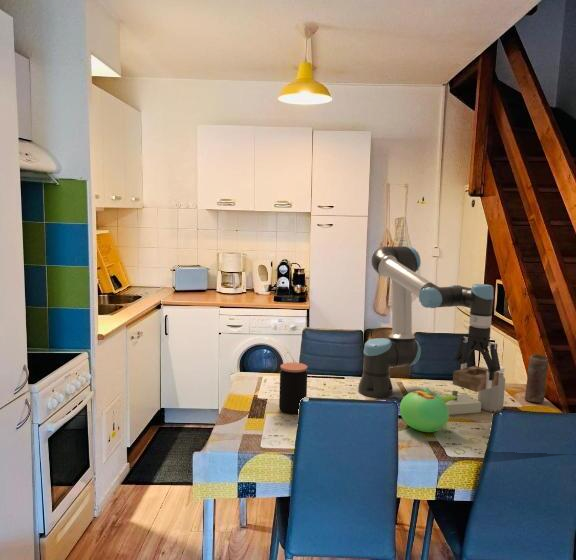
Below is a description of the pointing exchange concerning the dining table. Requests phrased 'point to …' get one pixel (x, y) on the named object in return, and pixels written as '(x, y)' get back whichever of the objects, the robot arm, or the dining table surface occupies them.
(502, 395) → the jar
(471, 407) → the panel
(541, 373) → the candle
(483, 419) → the dining table surface
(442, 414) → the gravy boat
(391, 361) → the robot arm
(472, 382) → the brown hollow cube
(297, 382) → the coffee jar
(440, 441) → the dining table surface
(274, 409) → the dining table surface
